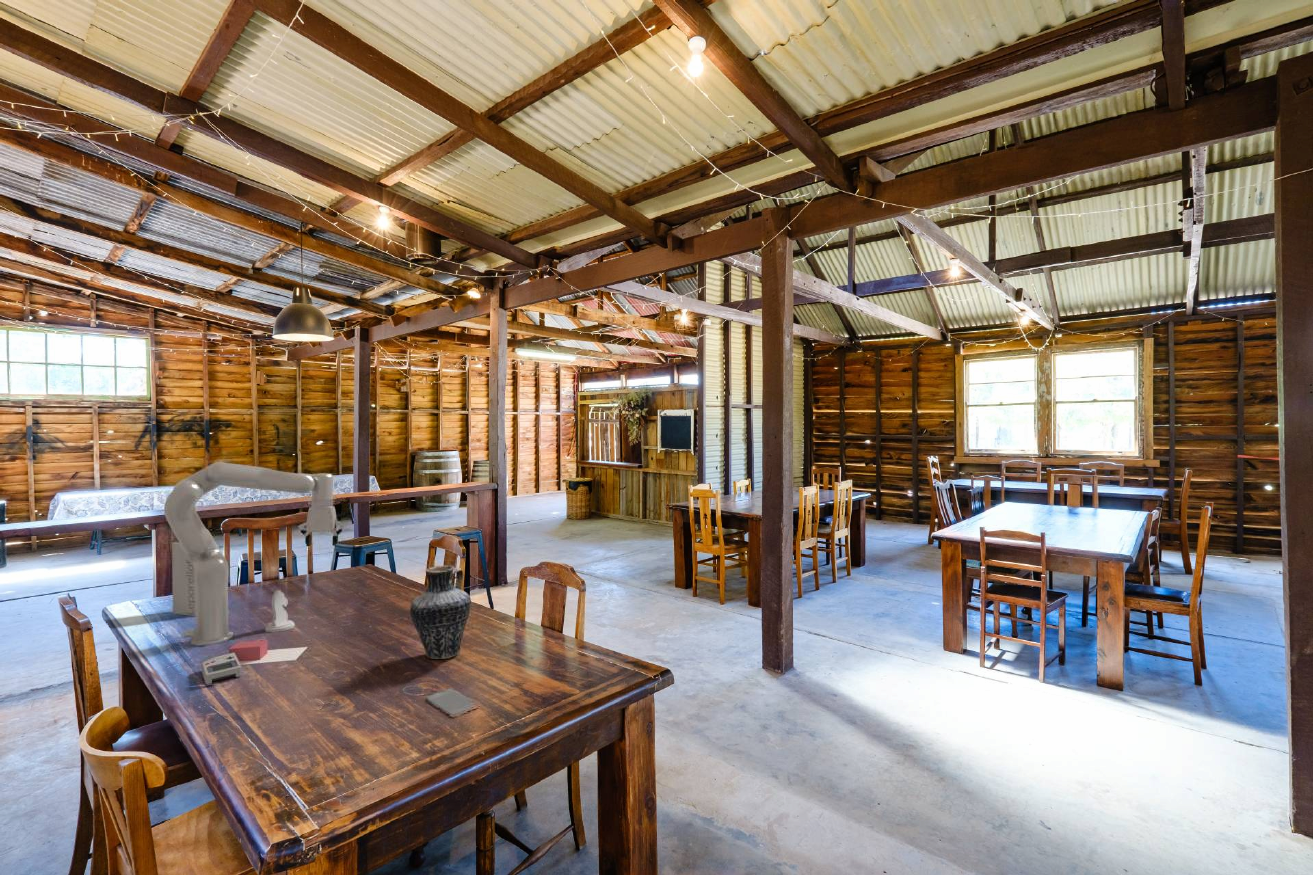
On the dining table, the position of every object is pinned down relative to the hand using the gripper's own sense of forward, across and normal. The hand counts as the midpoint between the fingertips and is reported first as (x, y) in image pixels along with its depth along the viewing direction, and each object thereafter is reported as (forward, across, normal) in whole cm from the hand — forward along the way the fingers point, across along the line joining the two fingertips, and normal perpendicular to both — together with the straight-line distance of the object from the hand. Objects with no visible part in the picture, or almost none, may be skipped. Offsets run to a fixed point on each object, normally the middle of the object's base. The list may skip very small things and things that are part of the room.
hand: (321, 545), depth 237 cm
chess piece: (+31, -12, -8) cm, 34 cm away
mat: (+31, -4, -40) cm, 51 cm away
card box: (+30, -9, -40) cm, 51 cm away
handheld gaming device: (+31, -11, -53) cm, 62 cm away
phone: (+31, +63, -88) cm, 113 cm away
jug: (+30, +55, -50) cm, 80 cm away
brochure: (+31, -57, +22) cm, 69 cm away
